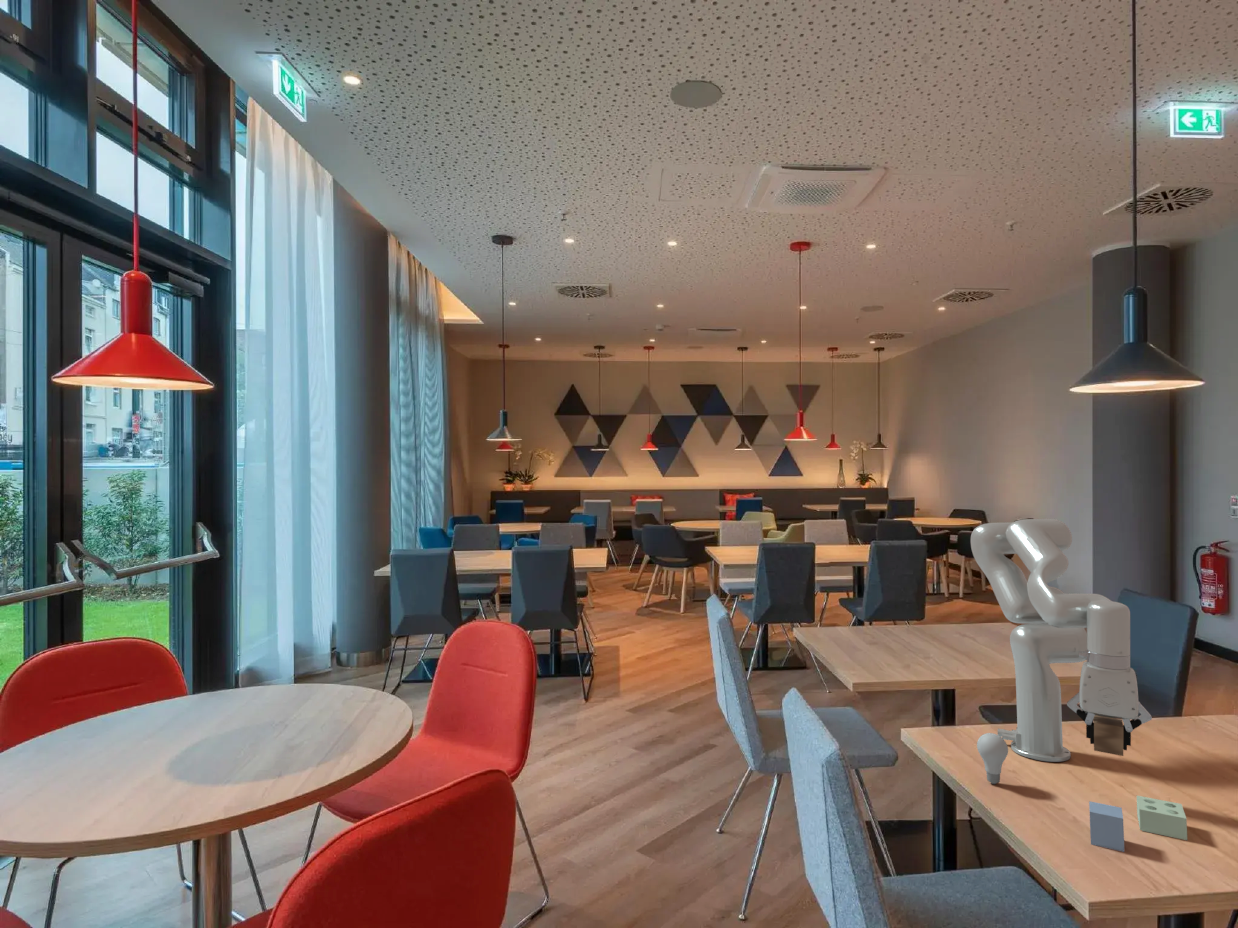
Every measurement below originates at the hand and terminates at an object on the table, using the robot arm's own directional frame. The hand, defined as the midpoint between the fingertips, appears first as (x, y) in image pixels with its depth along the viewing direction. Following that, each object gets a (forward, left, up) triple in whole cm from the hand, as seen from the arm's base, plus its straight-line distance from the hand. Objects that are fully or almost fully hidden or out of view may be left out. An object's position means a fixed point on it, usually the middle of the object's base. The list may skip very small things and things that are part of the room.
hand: (1108, 743), depth 146 cm
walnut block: (0, 0, -1) cm, 1 cm away
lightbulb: (-21, -6, -11) cm, 25 cm away
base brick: (+8, -11, -11) cm, 17 cm away
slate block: (-1, -23, -11) cm, 26 cm away
